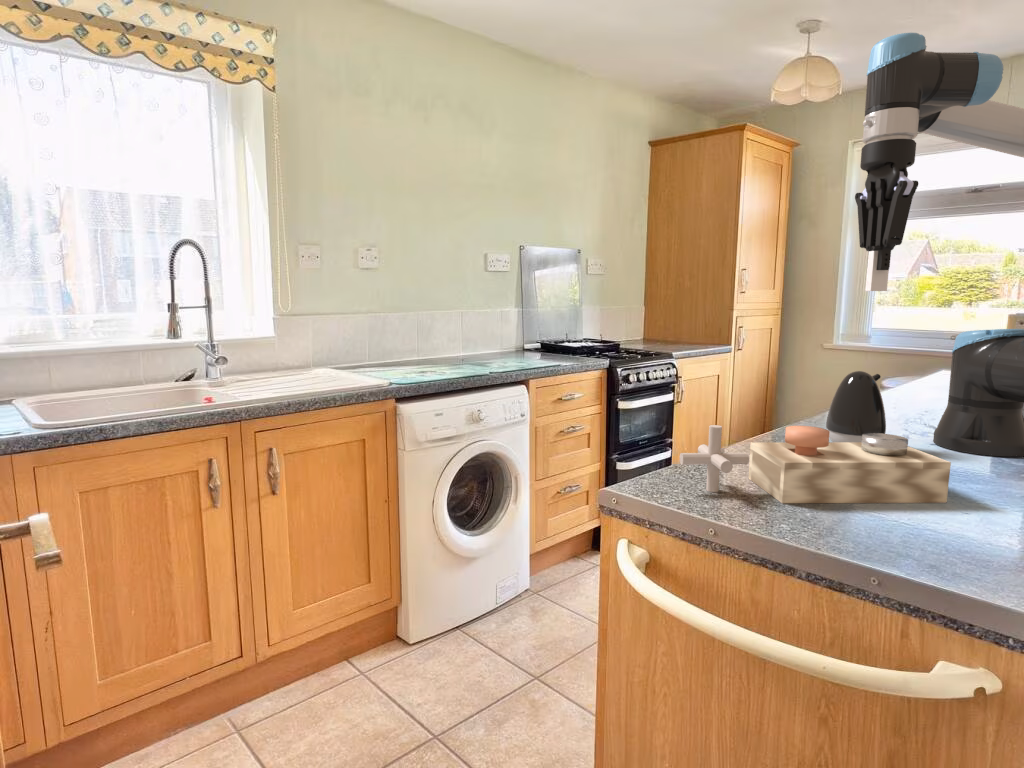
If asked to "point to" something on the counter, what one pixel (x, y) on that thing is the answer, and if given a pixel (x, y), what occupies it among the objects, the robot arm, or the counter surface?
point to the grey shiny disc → (884, 444)
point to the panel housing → (848, 474)
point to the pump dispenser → (856, 408)
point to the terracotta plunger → (806, 439)
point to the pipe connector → (714, 458)
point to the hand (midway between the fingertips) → (876, 290)
